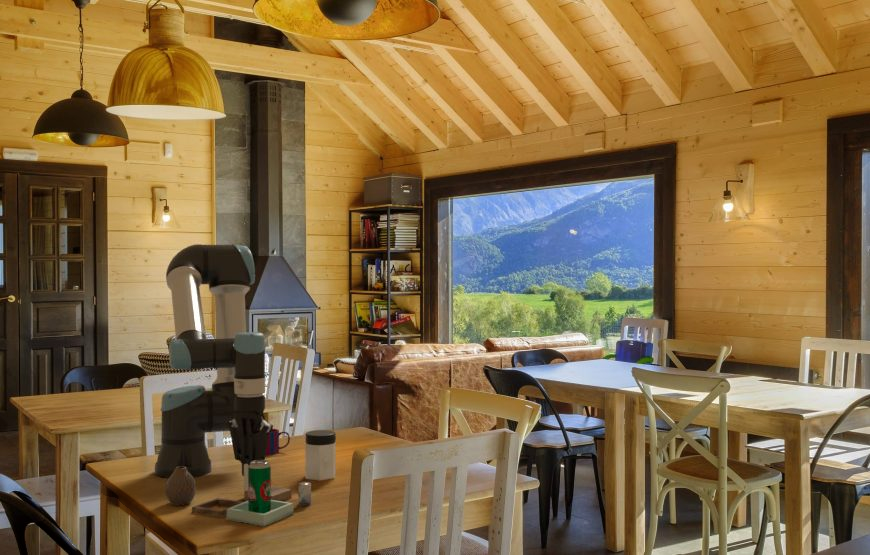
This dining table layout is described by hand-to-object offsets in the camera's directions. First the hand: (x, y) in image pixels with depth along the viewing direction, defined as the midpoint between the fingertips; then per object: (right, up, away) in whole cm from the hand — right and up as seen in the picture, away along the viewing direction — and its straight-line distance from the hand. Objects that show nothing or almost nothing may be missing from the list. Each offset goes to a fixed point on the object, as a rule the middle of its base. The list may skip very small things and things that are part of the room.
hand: (249, 489), depth 211 cm
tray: (+6, -2, -17) cm, 19 cm away
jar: (+15, -2, +20) cm, 25 cm away
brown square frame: (-5, -2, -12) cm, 13 cm away
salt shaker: (+15, -2, -7) cm, 16 cm away
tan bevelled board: (+5, -2, -2) cm, 6 cm away
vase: (-15, -2, -7) cm, 17 cm away
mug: (-4, -1, +49) cm, 50 cm away
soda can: (+6, -2, -18) cm, 19 cm away
